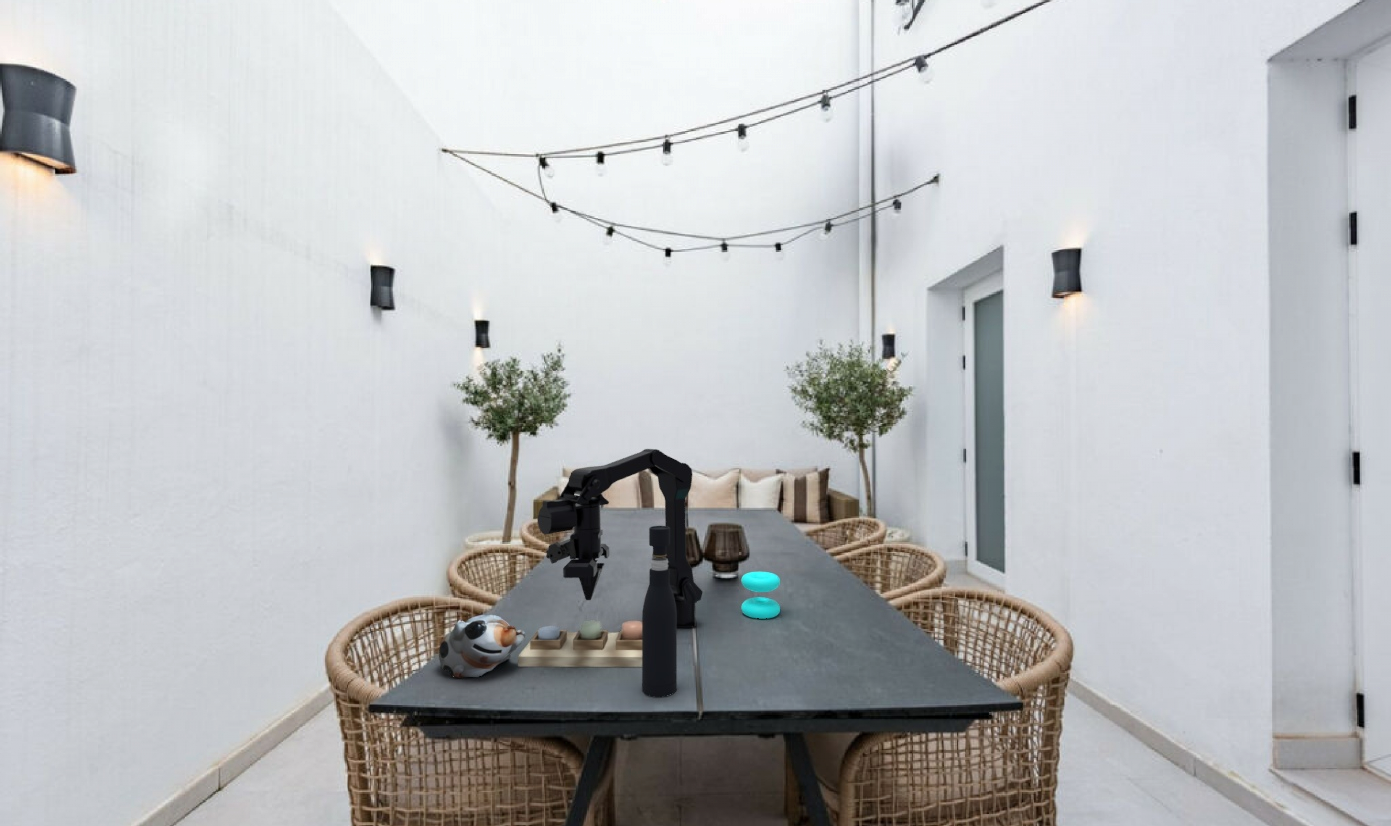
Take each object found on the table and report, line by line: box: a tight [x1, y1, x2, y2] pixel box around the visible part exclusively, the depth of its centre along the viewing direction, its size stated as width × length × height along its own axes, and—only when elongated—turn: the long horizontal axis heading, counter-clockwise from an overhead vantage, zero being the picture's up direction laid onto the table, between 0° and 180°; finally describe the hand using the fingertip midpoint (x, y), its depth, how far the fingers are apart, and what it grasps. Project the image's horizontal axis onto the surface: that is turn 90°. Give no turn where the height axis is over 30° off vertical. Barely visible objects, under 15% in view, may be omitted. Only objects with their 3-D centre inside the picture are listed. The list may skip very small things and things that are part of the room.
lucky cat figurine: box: [438, 614, 526, 678], centre depth 120 cm, size 15×12×14 cm
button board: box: [517, 629, 642, 668], centre depth 128 cm, size 27×14×4 cm, turn 89°
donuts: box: [740, 571, 781, 620], centre depth 155 cm, size 10×10×10 cm
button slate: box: [537, 625, 561, 640], centre depth 128 cm, size 4×4×2 cm
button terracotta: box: [621, 620, 642, 640], centre depth 128 cm, size 4×4×2 cm
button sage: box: [579, 619, 602, 639], centre depth 128 cm, size 4×4×2 cm
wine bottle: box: [641, 525, 678, 698], centre depth 111 cm, size 6×6×30 cm
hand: (588, 599), depth 129 cm, fingers closed
